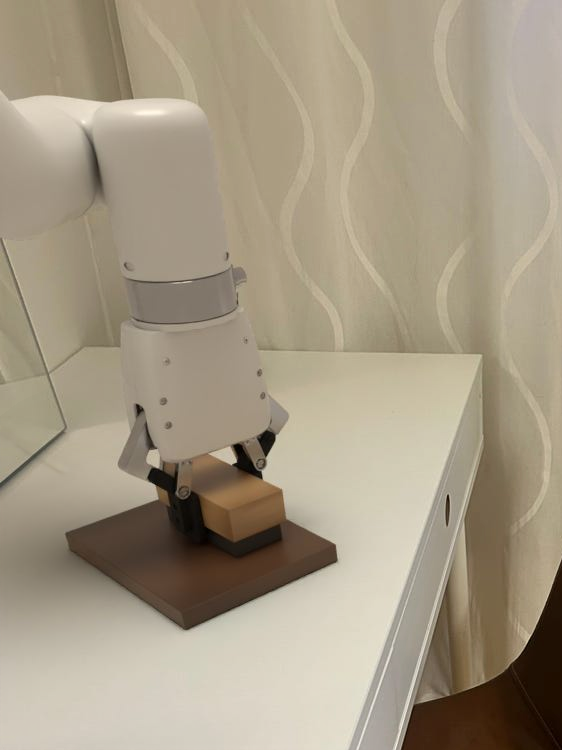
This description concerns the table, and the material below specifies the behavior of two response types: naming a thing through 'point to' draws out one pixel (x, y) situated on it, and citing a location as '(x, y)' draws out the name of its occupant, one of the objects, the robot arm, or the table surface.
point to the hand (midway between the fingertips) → (223, 522)
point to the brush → (234, 506)
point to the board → (193, 562)
